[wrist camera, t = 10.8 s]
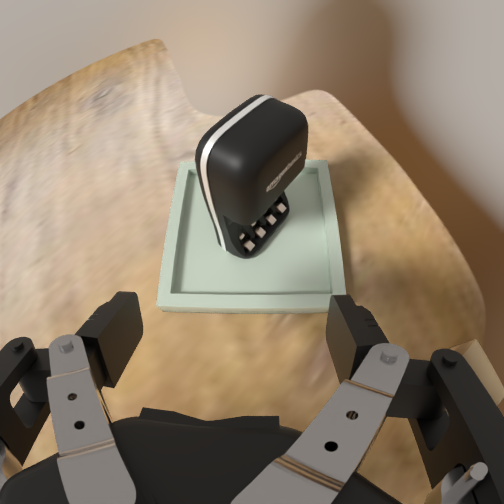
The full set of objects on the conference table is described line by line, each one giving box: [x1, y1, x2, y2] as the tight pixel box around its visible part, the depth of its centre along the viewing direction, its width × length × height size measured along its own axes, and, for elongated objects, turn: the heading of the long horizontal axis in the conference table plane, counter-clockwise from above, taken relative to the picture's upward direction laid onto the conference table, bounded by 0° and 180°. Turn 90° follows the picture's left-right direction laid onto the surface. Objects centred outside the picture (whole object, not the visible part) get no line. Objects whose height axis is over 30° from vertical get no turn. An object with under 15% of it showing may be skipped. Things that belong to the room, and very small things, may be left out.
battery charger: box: [195, 95, 308, 259], centre depth 20 cm, size 7×4×11 cm, turn 142°
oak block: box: [446, 339, 504, 416], centre depth 17 cm, size 6×6×4 cm
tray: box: [156, 160, 346, 314], centre depth 25 cm, size 14×14×2 cm
